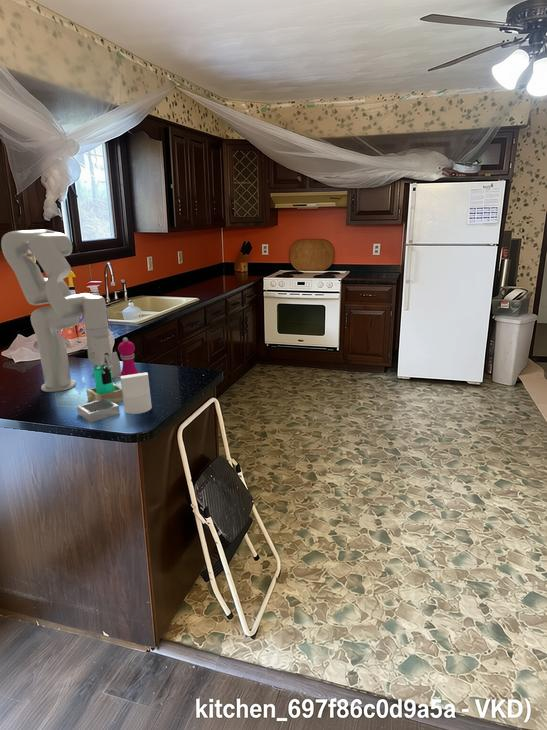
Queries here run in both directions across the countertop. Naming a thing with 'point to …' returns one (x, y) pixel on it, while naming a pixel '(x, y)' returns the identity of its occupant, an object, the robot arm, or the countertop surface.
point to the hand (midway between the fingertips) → (103, 381)
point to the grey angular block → (115, 365)
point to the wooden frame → (106, 394)
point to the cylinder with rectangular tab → (136, 393)
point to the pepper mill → (127, 357)
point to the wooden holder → (108, 410)
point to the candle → (98, 382)
